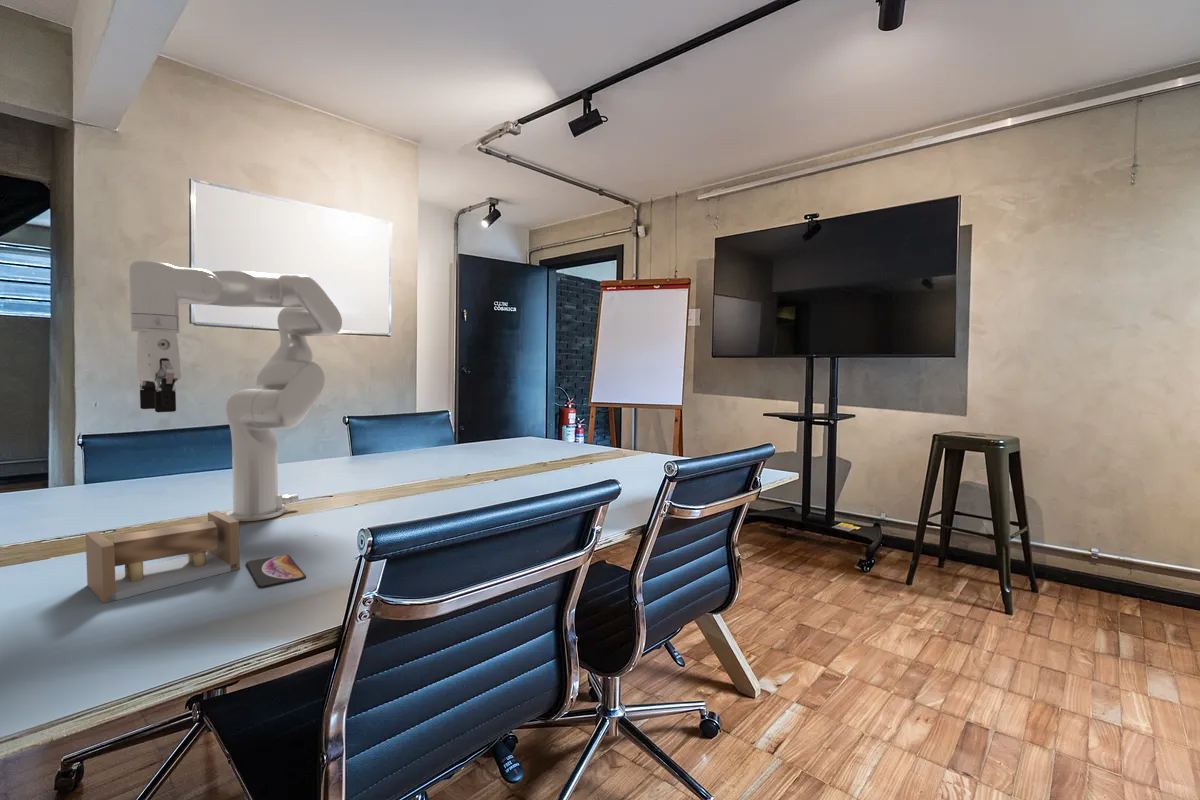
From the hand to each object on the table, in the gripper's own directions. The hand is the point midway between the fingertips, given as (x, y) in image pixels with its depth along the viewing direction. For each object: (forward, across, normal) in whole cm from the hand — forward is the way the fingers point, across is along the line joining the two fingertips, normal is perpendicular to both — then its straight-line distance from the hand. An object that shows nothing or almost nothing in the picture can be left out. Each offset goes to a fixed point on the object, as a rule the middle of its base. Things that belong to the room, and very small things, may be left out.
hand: (157, 410), depth 109 cm
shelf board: (+24, -19, +4) cm, 31 cm away
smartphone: (+29, -30, -9) cm, 43 cm away
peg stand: (+28, -19, +4) cm, 34 cm away
